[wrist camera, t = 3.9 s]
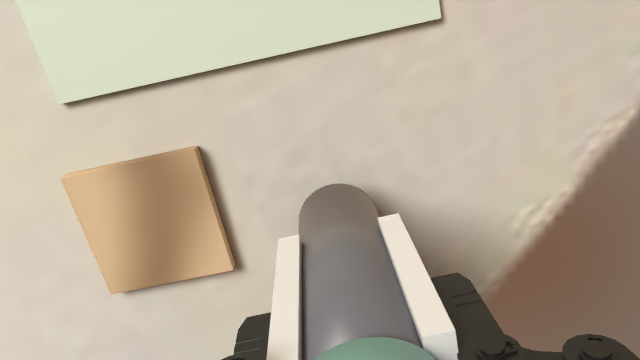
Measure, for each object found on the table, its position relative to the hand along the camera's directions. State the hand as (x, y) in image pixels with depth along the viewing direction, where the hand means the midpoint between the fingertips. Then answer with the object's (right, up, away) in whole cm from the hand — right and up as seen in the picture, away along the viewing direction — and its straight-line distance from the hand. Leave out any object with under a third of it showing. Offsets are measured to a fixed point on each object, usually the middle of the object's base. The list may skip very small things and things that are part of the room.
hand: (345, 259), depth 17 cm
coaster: (-9, +1, +5) cm, 10 cm away
